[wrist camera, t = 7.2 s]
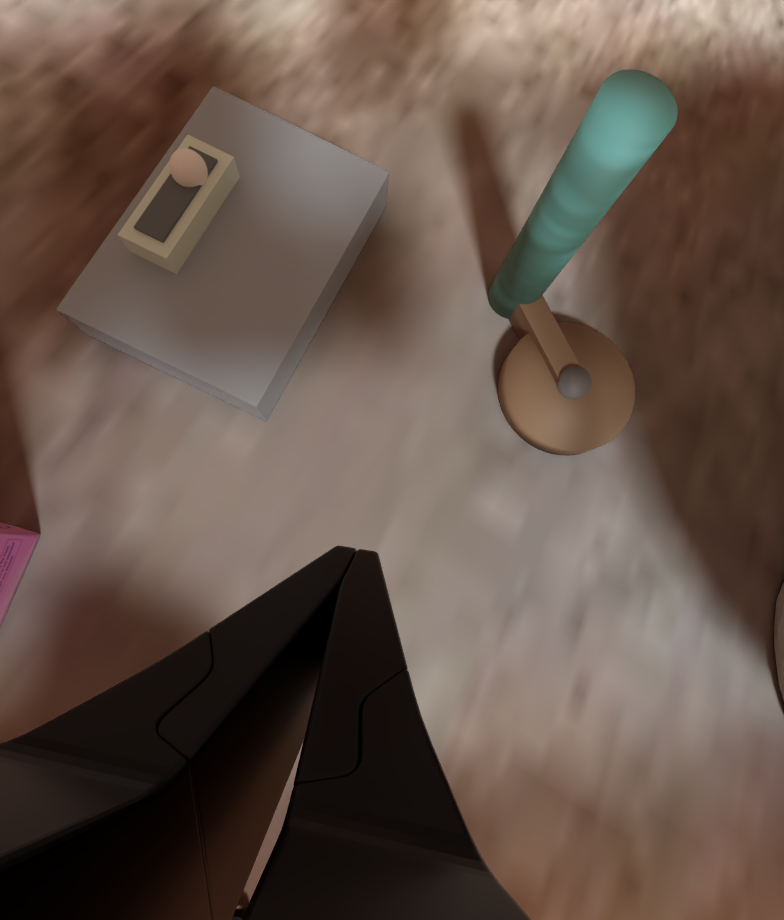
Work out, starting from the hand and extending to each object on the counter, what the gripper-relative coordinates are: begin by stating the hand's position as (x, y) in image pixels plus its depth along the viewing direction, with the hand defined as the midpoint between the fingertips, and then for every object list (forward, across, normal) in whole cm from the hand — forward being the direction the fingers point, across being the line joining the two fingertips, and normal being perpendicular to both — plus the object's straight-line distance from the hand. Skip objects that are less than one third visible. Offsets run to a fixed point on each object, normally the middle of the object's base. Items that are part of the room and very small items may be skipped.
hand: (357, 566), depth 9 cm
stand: (+18, +10, -5) cm, 21 cm away
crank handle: (+19, -7, -1) cm, 20 cm away
